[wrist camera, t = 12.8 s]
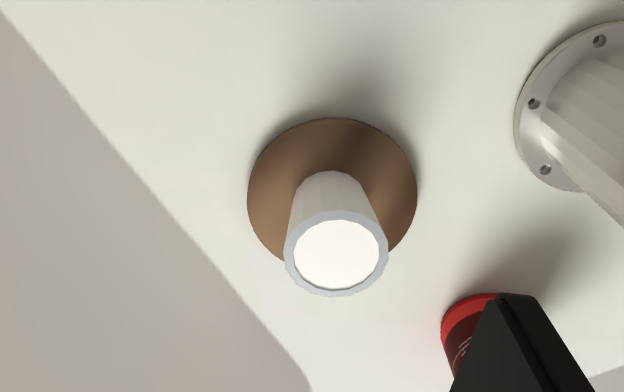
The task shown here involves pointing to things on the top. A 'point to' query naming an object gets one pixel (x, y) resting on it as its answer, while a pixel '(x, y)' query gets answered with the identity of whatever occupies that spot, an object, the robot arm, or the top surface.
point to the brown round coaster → (331, 157)
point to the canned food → (461, 327)
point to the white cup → (334, 237)
